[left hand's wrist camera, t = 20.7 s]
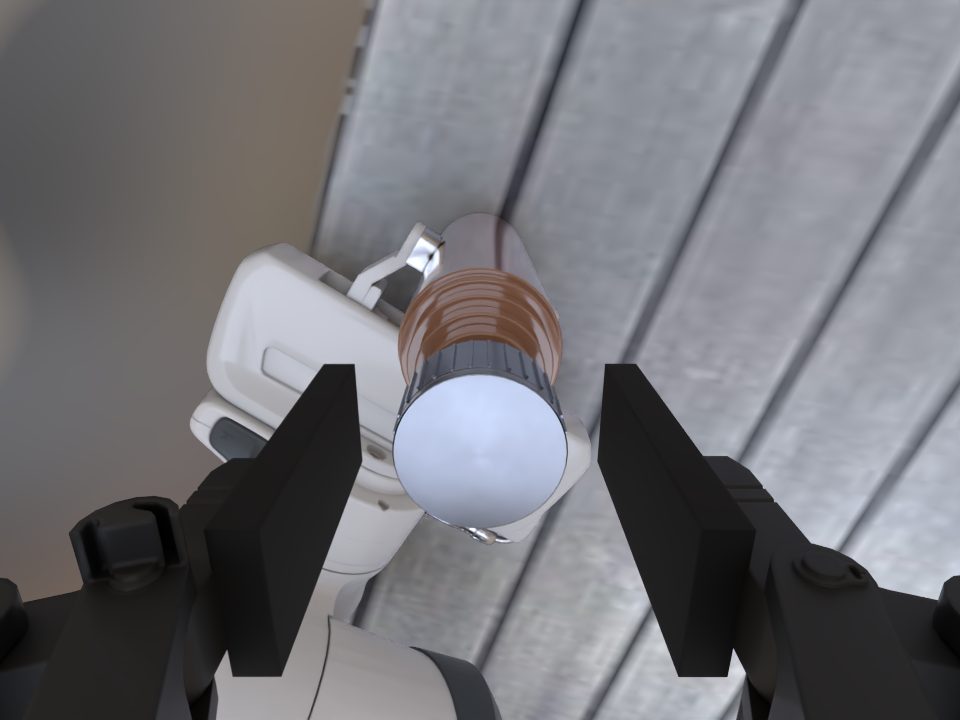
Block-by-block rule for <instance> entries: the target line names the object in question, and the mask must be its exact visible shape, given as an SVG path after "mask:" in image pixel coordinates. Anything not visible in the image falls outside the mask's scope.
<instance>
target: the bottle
mask: <svg viewBox="0 0 960 720" xmlns="http://www.w3.org/2000/svg"><path fill="white" fill-rule="evenodd" d="M441 236H442V237H443V239H442V241H441V243H440V245H439V246H438V248H437V250H436V251H435V252H434V254H432V256H431V258H430V260H429V262H428V264H427V266H426V268H425V270H424V273H423V275H422V277H421V279H420V281H419V284H418V286H417V288H416V290H415V292H414V295H413V297H412V299H411V301H410V303H409V306H408V308H407V310H406V312H405V314H404V317H403V320H402V322H401V325H400V330H399V335H398V357H399V362H400V366H401V371H402V375H403V378H404V380H405V383H406V385H407V386H409V385H410V381H411V378H412V375H413V373H414V371H415V372H417V371H418V369H419V368H420V367H421V366H422V364H423V361H424V360H425V359H426V360H428V359H429V358H430V357H431V356H433V355H434V354H436V352H437V350H439V349H440V351H441V350H443V349H445V348H447V347H449V346H452V344H453V343H456V344H458V343H462V342H467V341H470V340H472V339H473V341H478V340H481V341H487V340H491V341H493V342H498V343H502V344H505V343H507V344H508V345H509V346H511V347H513V348H515V349H518V350H519V351H520V350H523V351H524V354H526V355H527V356H529V357H530V358H531V359H532V360H533V361H534V360H536V361H537V363H538V366H539V367H540V368H541V369H542V370H543V372H547V374H548V377H549V380H550V384H551V386H553V385H554V383H555V381H556V378H557V375H558V372H559V366H560V363H561V357H562V334H561V329H560V325H559V322H558V319H557V317H556V315H555V312H554V310H553V308H552V306H551V303H550V301H549V299H548V297H547V295H546V292H545V290H544V288H543V286H542V284H541V281H540V279H539V277H538V275H537V273H536V271H535V268H534V266H533V264H532V262H531V260H530V257H529V255H528V253H527V251H526V249H525V246H524V244H523V242H522V240H521V238H520V236H519V234H518V233H517V231H516V230H515V229H514V228H513V227H512V226H511V225H510V224H509V223H508V222H506V221H505V220H503V219H502V218H500V217H497V216H495V215H492V214H487V213H473V214H468V215H465V216H462V217H460V218H458V219H457V220H455V221H453V222H452V223H451V224H450V225H449V226H448V227H447V228H446V229H445V230H444V231H443V233H442V234H441Z"/></svg>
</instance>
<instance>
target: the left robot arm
mask: <svg viewBox="0 0 960 720" xmlns="http://www.w3.org/2000/svg"><path fill="white" fill-rule="evenodd" d="M362 461H363V460H362V448H361V436H360V423H359V411H358V398H357V386H356V373H355V364H323V366H322V367H321V369H320V370H319V371H318V373H317V374H316V376H315V377H314V378H313V380H312V381H311V382H310V384H309V385H308V387H307V388H306V389H305V391H304V392H303V393H302V395H301V396H300V398H299V399H298V400H297V402H296V403H295V404H294V406H293V407H292V409H291V410H290V411H289V413H288V414H287V415H286V417H285V418H284V420H283V421H282V422H281V424H280V425H279V427H278V428H277V429H276V431H275V432H274V433H273V435H272V436H271V438H270V439H269V440H268V442H267V443H266V444H265V446H264V447H263V449H262V450H261V451H260V453H259V454H258V455H257V457H256V458H232V459H230V460H229V461H227V462H226V463H224V464H223V465H221V466H219V467H218V468H216V469H215V470H213V471H211V472H210V474H209V475H208V476H207V477H206V478H205V480H204V481H203V482H202V483H201V484H200V486H199V487H198V491H195V492H194V493H193V494H192V495H191V496H190V498H189V499H188V500H187V504H184V505H183V506H182V507H181V508H180V510H179V507H178V505H177V504H176V503H174V502H173V501H172V500H170V499H168V498H162V497H157V496H148V497H135V498H131V499H127V500H123V501H119V502H115V503H113V504H110V505H108V506H106V507H103V508H101V509H98V510H96V511H94V512H93V513H91V514H90V515H88V516H87V517H85V518H84V519H82V520H80V521H79V522H78V523H77V524H76V525H75V527H74V528H73V529H72V530H71V531H70V532H69V536H70V539H71V543H72V546H73V549H74V552H75V556H76V559H77V563H78V566H79V570H80V573H81V576H82V580H83V583H84V584H83V586H82V588H81V590H78V591H75V592H72V593H66V594H62V595H57V596H52V597H48V598H43V599H38V600H33V601H29V602H24V603H23V602H22V599H21V596H20V593H19V590H18V588H17V585H16V584H14V583H13V582H12V581H10V580H9V579H6V578H0V720H216V716H217V707H218V692H217V686H216V681H215V676H214V675H215V673H216V671H217V669H218V667H219V665H220V663H221V661H222V659H223V657H224V655H225V653H226V651H228V656H229V661H230V666H231V671H232V676H233V677H282V674H283V671H284V669H285V666H286V664H287V661H288V658H289V656H290V653H291V650H292V648H293V645H294V642H295V640H296V637H297V634H298V632H299V629H300V626H301V624H302V621H303V618H304V616H305V613H306V610H307V608H308V605H309V602H310V600H311V597H312V594H313V592H314V589H315V586H316V584H317V581H318V578H319V576H320V573H321V570H322V568H323V565H324V562H325V560H326V557H327V554H328V552H329V549H330V546H331V544H332V541H333V538H334V536H335V533H336V530H337V528H338V525H339V522H340V520H341V517H342V515H343V512H344V509H345V507H346V504H347V501H348V499H349V496H350V493H351V491H352V488H353V485H354V483H355V480H356V477H357V475H358V472H359V469H360V467H361V464H362ZM597 461H598V464H599V467H600V469H601V472H602V475H603V477H604V480H605V483H606V485H607V488H608V491H609V493H610V496H611V499H612V501H613V504H614V507H615V509H616V512H617V515H618V517H619V520H620V522H621V525H622V528H623V530H624V533H625V536H626V538H627V541H628V544H629V546H630V549H631V552H632V554H633V557H634V560H635V562H636V565H637V568H638V570H639V573H640V576H641V578H642V581H643V584H644V586H645V589H646V592H647V594H648V597H649V600H650V602H651V605H652V608H653V610H654V613H655V616H656V618H657V621H658V624H659V626H660V629H661V632H662V634H663V637H664V640H665V642H666V645H667V648H668V650H669V653H670V656H671V658H672V661H673V664H674V666H675V669H676V671H677V674H678V677H727V676H728V671H729V666H730V661H731V656H732V651H733V648H734V650H735V652H736V654H737V656H738V658H739V660H740V662H741V664H742V666H743V668H744V670H745V672H746V676H745V681H744V686H743V690H742V695H741V700H740V704H739V709H738V714H737V719H736V720H960V575H959V576H953V577H951V578H950V579H949V580H947V581H946V582H944V585H943V588H942V590H941V593H940V596H939V599H938V600H934V599H929V598H925V597H920V596H915V595H910V594H906V593H901V592H896V591H891V590H887V589H884V588H880V587H878V585H877V583H876V581H875V580H874V579H873V577H872V576H871V575H870V573H869V572H868V571H867V570H866V569H865V568H864V567H862V566H861V565H860V564H858V563H857V562H856V561H854V560H853V559H852V558H850V557H848V556H846V555H844V554H841V553H839V552H837V551H835V550H833V549H830V548H827V547H823V546H819V545H816V544H811V543H810V542H809V540H808V539H807V538H806V537H805V536H804V534H803V533H802V532H801V531H800V530H799V529H798V527H797V526H796V525H795V524H794V523H793V521H792V520H791V519H790V518H789V517H788V515H787V514H786V513H785V512H784V511H783V509H782V508H781V507H780V506H779V505H778V503H777V502H774V499H773V498H772V496H771V495H770V494H769V493H768V492H767V490H766V489H763V486H762V484H761V483H760V482H759V481H758V480H757V478H756V477H755V476H754V475H753V474H752V472H751V471H750V470H749V469H747V468H746V467H744V466H742V465H741V464H739V463H738V462H736V461H734V460H733V459H731V458H730V457H728V456H703V455H702V454H701V453H700V451H699V450H698V449H697V447H696V446H695V444H694V443H693V442H692V440H691V439H690V438H689V436H688V435H687V433H686V432H685V431H684V429H683V428H682V427H681V425H680V424H679V422H678V421H677V420H676V418H675V417H674V416H673V414H672V413H671V411H670V410H669V409H668V407H667V406H666V404H665V403H664V402H663V400H662V399H661V398H660V396H659V395H658V393H657V392H656V391H655V389H654V388H653V387H652V385H651V384H650V382H649V381H648V380H647V378H646V377H645V376H644V374H643V373H642V371H641V370H640V369H639V367H638V366H637V364H605V373H604V386H603V398H602V411H601V423H600V436H599V448H598V460H597Z"/></svg>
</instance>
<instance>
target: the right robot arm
mask: <svg viewBox="0 0 960 720" xmlns="http://www.w3.org/2000/svg"><path fill="white" fill-rule="evenodd" d="M442 239H443V237H442V236H440V235H439V234H437V233H436V232H434V231H433V230H431V229H430V228H428V227H426V226H425V225H424V224H422V223H420V222H419V221H418V222H417V223H416V224H415V226H414V227H413V229H412V230H411V232H410V234H409V235H408V237H407V239H406V240H405V242H404V244H403V246H402V247H401V249H400V250H397V251H395V252H393V253H391V254H389V255H387V256H385V257H384V258H382V259H380V260H378V261H376V262H374V263H372V264H371V265H369V266H367V267H365V268H364V270H363V271H362V272H361V273H360V274H359V275H358V276H357V278H356V280H355V281H354V283H353V282H352V281H350V280H348V279H347V278H345V277H343V276H342V275H340V274H338V273H337V272H335V271H333V270H332V269H330V268H328V267H327V266H325V265H323V264H322V263H320V262H318V261H317V260H315V259H313V258H312V257H310V256H308V255H307V254H305V253H303V252H302V251H300V250H298V249H297V248H295V247H293V246H292V245H290V244H288V243H277V244H273V245H269V246H266V247H263V248H260V249H258V250H256V251H254V252H252V253H250V254H249V255H248V256H246V257H245V258H244V259H243V260H242V262H241V263H240V265H239V266H238V268H237V270H236V272H235V274H234V276H233V278H232V280H231V283H230V285H229V287H228V289H227V292H226V294H225V297H224V299H223V302H222V304H221V307H220V310H219V313H218V315H217V318H216V321H215V324H214V328H213V331H212V334H211V338H210V341H209V345H208V350H207V357H206V366H207V373H208V376H209V379H210V381H211V383H212V385H213V387H212V388H211V389H210V390H209V391H208V393H207V394H206V395H205V396H204V398H203V399H202V401H201V402H200V403H199V405H198V406H197V408H196V409H195V411H194V413H193V415H192V417H191V420H190V428H191V430H192V432H193V434H194V435H195V436H196V437H197V438H198V439H199V440H200V441H201V442H202V443H203V444H204V445H205V446H206V447H208V448H209V449H210V450H211V451H212V452H213V453H214V454H215V455H216V456H217V457H219V458H220V459H221V460H222V461H223V462H224V463H226V462H227V461H229V460H230V459H232V458H256V457H257V455H258V454H259V453H260V451H261V450H262V449H263V447H264V446H265V444H266V443H267V442H268V440H269V439H270V438H271V436H272V435H273V433H274V432H275V431H276V429H277V428H278V427H279V425H280V424H281V422H282V421H283V420H284V418H285V417H286V415H287V414H288V413H289V411H290V410H291V409H292V407H293V406H294V404H295V403H296V402H297V400H298V399H299V398H300V396H301V395H302V393H303V392H304V391H305V389H306V388H307V387H308V385H309V384H310V382H311V381H312V380H313V378H314V377H315V376H316V374H317V373H318V371H319V370H320V369H321V367H322V366H323V364H355V373H356V386H357V398H358V411H359V423H360V436H361V448H362V460H363V461H362V464H361V467H360V469H359V472H358V475H357V477H356V480H355V483H354V485H353V488H352V491H351V493H350V496H349V499H348V501H347V504H346V507H345V509H344V512H343V515H342V517H341V520H340V522H339V525H338V528H337V530H336V533H335V536H334V538H333V541H332V544H331V546H330V549H329V552H328V554H327V557H326V560H325V562H324V565H323V568H322V570H321V573H320V576H319V578H318V581H317V584H316V586H315V589H314V592H313V594H312V597H311V600H310V602H309V605H308V608H307V610H306V613H305V616H304V618H303V621H302V624H301V626H300V629H299V632H298V634H297V637H296V640H295V642H294V645H293V648H292V650H291V653H290V656H289V658H288V661H287V664H286V666H285V669H284V671H283V674H282V677H233V676H232V671H231V666H230V661H229V656H228V651H226V653H225V655H224V657H223V659H222V661H221V663H220V665H219V667H218V669H217V671H216V673H215V675H214V676H215V681H216V686H217V692H218V707H217V716H216V720H502V718H501V715H500V712H499V709H498V707H497V704H496V702H495V700H494V697H493V695H492V693H491V691H490V689H489V687H488V685H487V683H486V681H485V679H484V677H483V676H482V674H481V673H480V671H479V670H478V669H477V668H476V667H475V666H474V665H473V664H471V663H470V662H468V661H465V660H461V659H457V658H454V657H450V656H446V655H443V654H439V653H435V652H432V651H428V650H424V649H421V648H417V647H407V646H404V645H402V644H399V643H397V642H394V641H391V640H389V639H386V638H384V637H381V636H378V635H376V634H373V633H371V632H368V631H365V630H363V629H360V628H358V627H355V626H352V625H350V624H347V623H346V622H347V620H348V619H349V618H350V616H351V615H352V614H353V612H354V611H355V609H356V607H357V606H358V604H359V602H360V600H361V598H362V595H363V592H364V589H365V585H366V583H367V581H368V580H369V579H370V578H371V577H373V576H374V575H376V574H377V573H378V572H380V571H381V570H382V569H383V568H384V567H385V566H386V565H387V564H388V563H389V562H390V560H391V559H392V558H393V556H394V555H395V553H396V552H397V551H398V549H399V548H400V546H401V545H402V544H403V542H404V541H405V539H406V538H407V537H408V535H409V534H410V532H411V531H412V530H413V528H414V527H415V525H416V524H417V523H418V521H419V520H420V518H421V517H422V516H423V514H424V513H426V514H428V513H427V512H426V511H424V510H423V509H421V508H420V507H419V506H418V505H417V504H416V503H415V502H414V501H413V500H412V499H411V498H410V497H409V496H408V494H407V493H406V491H405V490H404V488H403V487H402V485H401V483H400V481H399V479H398V477H397V474H396V471H395V468H394V463H393V456H392V445H393V438H394V434H393V429H394V426H395V423H396V420H397V414H398V411H399V407H400V404H401V401H402V398H403V394H404V391H405V388H406V386H407V385H406V383H405V380H404V378H403V375H402V371H401V366H400V362H399V357H398V335H399V330H400V325H401V322H402V320H403V317H404V314H405V313H404V312H402V311H400V310H399V309H397V308H395V307H394V306H392V305H390V304H389V303H387V302H385V301H384V300H382V299H380V297H381V295H382V293H383V291H384V290H385V288H386V286H387V284H388V281H387V280H386V279H384V277H386V276H388V275H389V274H391V273H393V272H395V271H397V270H399V269H400V268H402V267H404V266H406V265H407V264H408V265H410V266H412V267H413V268H415V269H417V270H418V271H420V272H423V271H424V269H425V268H426V266H427V264H428V262H429V260H430V258H431V256H432V254H434V252H435V251H436V250H437V248H438V246H439V245H440V243H441V241H442ZM552 308H553V310H554V312H555V315H556V317H557V319H559V316H560V314H559V312H558V310H557V309H555V308H554V307H552ZM561 410H562V413H563V416H564V418H563V419H564V422H565V425H566V429H567V433H568V435H566V437H567V443H568V457H567V465H566V468H565V472H564V475H563V477H562V479H561V482H560V484H559V485H558V487H557V489H556V490H555V492H554V493H553V494H552V496H551V497H550V498H549V499H548V501H546V502H545V503H544V504H543V505H542V506H541V507H540V508H539V509H537V510H536V511H535V512H533V513H532V514H530V515H528V516H527V517H525V518H523V519H521V520H519V521H516V522H514V523H511V524H507V525H504V526H499V527H494V528H467V527H461V526H456V525H453V524H449V523H447V522H444V521H442V520H439V519H437V518H435V517H434V516H432V515H430V514H428V515H430V516H431V517H433V518H435V519H437V520H439V521H441V522H443V523H445V524H447V525H449V526H451V527H454V528H457V529H459V530H462V531H464V532H466V533H467V534H469V535H470V536H471V537H472V538H473V539H475V540H477V541H479V542H481V543H484V544H487V545H491V544H493V543H494V542H497V543H513V542H515V543H517V542H520V541H522V540H523V539H524V538H526V537H527V535H528V534H529V533H530V532H531V531H532V529H533V528H534V527H535V526H536V524H537V523H538V522H539V520H540V519H541V516H542V514H543V513H544V512H545V511H546V510H548V509H549V508H550V507H551V506H552V505H553V504H554V503H555V502H556V501H557V500H558V499H560V498H561V497H562V496H563V495H564V494H565V493H566V492H567V491H568V490H569V489H570V488H571V487H572V486H573V484H574V483H575V482H576V481H577V480H578V479H579V478H580V477H581V476H582V475H583V473H584V472H585V471H586V470H587V468H588V467H589V465H590V463H591V444H590V440H589V437H588V434H587V431H586V429H585V426H584V424H583V422H582V421H581V419H580V418H578V417H577V416H575V415H574V414H572V413H570V412H569V411H567V410H565V409H564V408H562V407H561ZM497 534H499V535H501V536H499V535H497Z"/></svg>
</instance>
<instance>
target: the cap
mask: <svg viewBox="0 0 960 720" xmlns="http://www.w3.org/2000/svg"><path fill="white" fill-rule="evenodd" d="M563 418H564V416H563V413H562V410H561V407H560V404H559V400H558V397H557V394H556V391H555V388H554V386H551V384H550V380H549V377H548V374H547V372H543V370H542V369H541V368H540V367H539V366H538V363H537V361H536V360H534V361H533V360H532V359H531V358H530V357H529V356H527V355H526V354H524V351H523V350H520V351H519V350H518V349H515V348H513V347H511V346H509V345H508V344H507V343H505V344H502V343H498V342H493V341H491V340H487V341H481V340H478V341H473V339H472V340H470V341H467V342H462V343H458V344H456V343H453V344H452V346H449V347H447V348H445V349H443V350H441V351H440V349H439V350H437V352H436V354H434V355H433V356H431V357H430V358H429V359H428V360H426V359H425V360H424V361H423V364H422V366H421V367H420V368H419V369H418V371H417V372H415V371H414V373H413V375H412V378H411V381H410V385H409V386H406V388H405V391H404V394H403V398H402V401H401V404H400V407H399V411H398V414H397V420H396V423H395V426H394V429H393V434H394V438H393V445H392V456H393V463H394V468H395V471H396V474H397V477H398V479H399V481H400V483H401V485H402V487H403V488H404V490H405V491H406V493H407V494H408V496H409V497H410V498H411V499H412V500H413V501H414V502H415V503H416V504H417V505H418V506H419V507H420V508H421V509H423V510H424V511H426V512H427V513H428V514H430V515H432V516H434V517H435V518H437V519H439V520H442V521H444V522H447V523H449V524H453V525H456V526H461V527H467V528H494V527H499V526H504V525H507V524H511V523H514V522H516V521H519V520H521V519H523V518H525V517H527V516H528V515H530V514H532V513H533V512H535V511H536V510H537V509H539V508H540V507H541V506H542V505H543V504H544V503H545V502H546V501H548V499H549V498H550V497H551V496H552V494H553V493H554V492H555V490H556V489H557V487H558V485H559V484H560V482H561V479H562V477H563V475H564V472H565V468H566V465H567V457H568V443H567V437H566V435H568V433H567V429H566V425H565V422H564V419H563Z"/></svg>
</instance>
